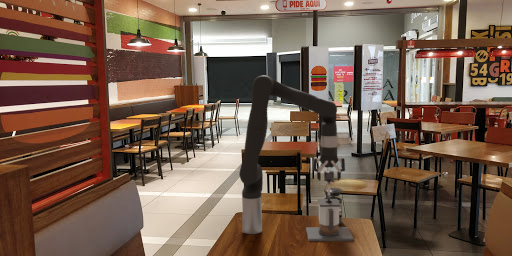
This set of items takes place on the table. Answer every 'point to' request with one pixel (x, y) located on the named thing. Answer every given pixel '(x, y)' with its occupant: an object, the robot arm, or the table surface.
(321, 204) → the carafe
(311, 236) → the slate board
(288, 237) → the table surface
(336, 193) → the french press
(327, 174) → the plunger
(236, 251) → the table surface
